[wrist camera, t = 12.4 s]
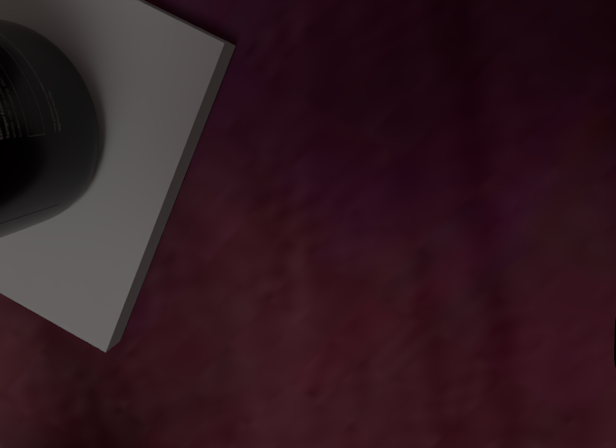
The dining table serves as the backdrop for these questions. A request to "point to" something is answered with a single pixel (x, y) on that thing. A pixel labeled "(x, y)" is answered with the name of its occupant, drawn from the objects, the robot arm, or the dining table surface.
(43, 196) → the supplement bottle
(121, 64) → the lid
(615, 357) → the robot arm
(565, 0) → the dining table surface
